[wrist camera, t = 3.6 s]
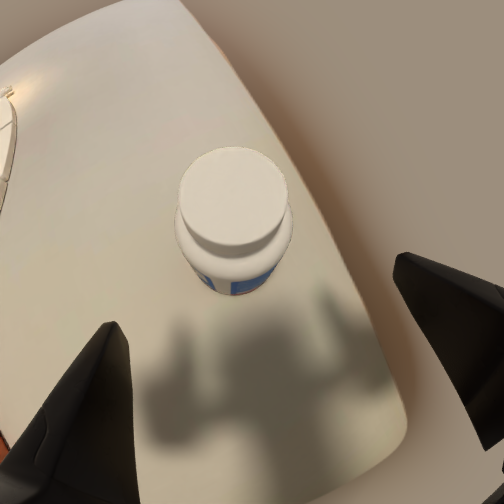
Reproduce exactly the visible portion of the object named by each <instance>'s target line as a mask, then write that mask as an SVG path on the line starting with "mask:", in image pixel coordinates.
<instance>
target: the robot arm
mask: <svg viewBox="0 0 504 504" xmlns="http://www.w3.org/2000/svg"><path fill="white" fill-rule="evenodd" d="M393 280H394V283H395V284H396V286H397V288H398V289H399V291H400V293H401V295H402V297H403V299H404V301H405V303H406V305H407V307H408V309H409V310H410V312H411V314H412V316H413V317H414V319H415V321H416V322H417V324H418V326H419V327H420V329H421V330H422V332H423V333H424V335H425V337H426V338H427V340H428V342H429V343H430V345H431V347H432V348H433V350H434V351H435V353H436V355H437V357H438V358H439V360H440V362H441V364H442V365H443V367H444V369H445V371H446V373H447V374H448V376H449V378H450V380H451V382H452V383H453V385H454V387H455V389H456V391H457V393H458V395H459V397H460V399H461V401H462V403H463V405H464V407H465V409H466V411H467V413H468V415H469V417H470V420H471V422H472V424H473V426H474V428H475V430H476V432H477V435H478V437H479V440H480V442H481V444H482V447H483V449H484V450H485V451H487V450H488V449H490V448H491V447H493V446H494V445H495V444H497V443H498V442H500V441H501V440H502V439H503V438H504V288H503V287H500V286H498V285H494V284H492V283H490V282H488V281H485V280H483V279H480V278H478V277H475V276H473V275H470V274H467V273H465V272H462V271H459V270H457V269H454V268H451V267H449V266H446V265H443V264H441V263H437V262H435V261H432V260H429V259H427V258H424V257H421V256H418V255H415V254H412V253H410V252H404V253H401V254H398V255H397V257H396V260H395V265H394V270H393ZM502 472H503V473H504V462H503V467H502ZM0 504H140V498H139V490H138V481H137V472H136V461H135V447H134V428H133V389H132V378H131V367H130V355H129V344H128V341H127V339H126V337H125V335H124V334H123V332H122V330H121V328H120V327H119V325H118V323H117V322H115V321H112V322H106V323H103V324H102V325H101V326H100V328H99V329H98V330H97V331H96V333H95V334H94V335H93V336H92V338H91V339H90V340H89V342H88V343H87V344H86V345H85V347H84V348H83V349H82V351H81V352H80V353H79V355H78V356H77V357H76V359H75V360H74V361H73V363H72V364H71V365H70V367H69V368H68V369H67V371H66V372H65V373H64V375H63V376H62V378H61V379H60V380H59V382H58V383H57V385H56V386H55V387H54V389H53V390H52V392H51V393H50V394H49V396H48V397H47V399H46V400H45V402H44V403H43V405H42V407H41V408H40V409H39V411H38V412H37V414H36V415H35V417H34V418H33V419H32V421H31V422H30V424H29V425H28V427H27V428H26V430H25V431H24V432H23V434H22V435H21V436H20V438H19V439H18V440H17V442H16V443H15V444H14V446H13V447H12V448H11V450H10V451H9V452H8V454H7V455H6V457H5V458H4V459H3V461H2V462H1V463H0ZM482 504H504V483H503V484H502V485H501V486H500V487H499V488H498V489H497V490H496V491H495V492H494V493H493V494H492V495H491V496H489V497H488V499H486V500H485V501H484V502H483V503H482Z"/></svg>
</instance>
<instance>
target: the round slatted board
mask: <svg viewBox="0 0 504 504" xmlns="http://www.w3.org/2000/svg"><path fill="white" fill-rule="evenodd" d="M10 91H12V87H11V86H9V87H8V88H6V87H5V88H3V89H2V90H0V211H1V207H2V203H3V199H4V195H5V191H6V187H7V183H6V181H7V180H8V179H9V175H10V170H11V165H12V160H13V155H14V149H15V142H16V129H17V128H16V127H15V126H16V125H17V123H16V114H15V110H14V108H13V106H12V104H11V103H10V101H9V100H8V99H7V97H6V96H5V95H6V94H8V93H9V92H10Z"/></svg>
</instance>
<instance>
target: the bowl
mask: <svg viewBox="0 0 504 504" xmlns="http://www.w3.org/2000/svg"><path fill="white" fill-rule="evenodd" d="M8 452H9V451H8V449H7V447H6V445H5V443H4V441H3V440H2V438H1V436H0V463H1V462H2V461H3V459H4V458H5V457H6V455H7V454H8Z"/></svg>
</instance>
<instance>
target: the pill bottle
mask: <svg viewBox="0 0 504 504" xmlns="http://www.w3.org/2000/svg"><path fill="white" fill-rule="evenodd" d="M174 227H175V235H176V239H177V242H178V245H179V247H180V249H181V251H182V253H183V255H184V256H185V258H186V259H187V261H188V262H189V264H190V265H191V267H192V268H193V269H194V271H195V272H196V273H197V275H198V276H199V278H200V279H201V280H202V281H203V282H204V283H205V284H206V285H207V286H208V287H210V288H211V289H213V290H215V291H217V292H219V293H222V294H226V295H241V294H245V293H248V292H251V291H253V290H255V289H256V288H258V287H259V286H260V285H261V284H263V283H264V282H265V280H266V279H267V278H268V277H269V275H270V274H271V272H272V271H273V270H274V268H275V267H276V265H277V264H278V262H279V261H280V260H281V258H282V257H283V255H284V253H285V251H286V249H287V248H288V245H289V243H290V240H291V237H292V231H293V216H292V211H291V207H290V205H289V202H288V188H287V184H286V181H285V178H284V176H283V174H282V172H281V171H280V169H279V168H278V167H277V165H276V164H275V163H274V162H273V161H272V160H270V159H269V158H268V157H266V156H265V155H263V154H261V153H259V152H257V151H255V150H252V149H248V148H244V147H222V148H218V149H215V150H212V151H210V152H208V153H205V154H203V155H202V156H200V157H199V158H197V159H196V160H195V161H194V162H193V163H192V164H191V165H190V166H189V167H188V169H187V170H186V171H185V173H184V175H183V177H182V179H181V181H180V185H179V189H178V206H177V209H176V213H175V221H174Z"/></svg>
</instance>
